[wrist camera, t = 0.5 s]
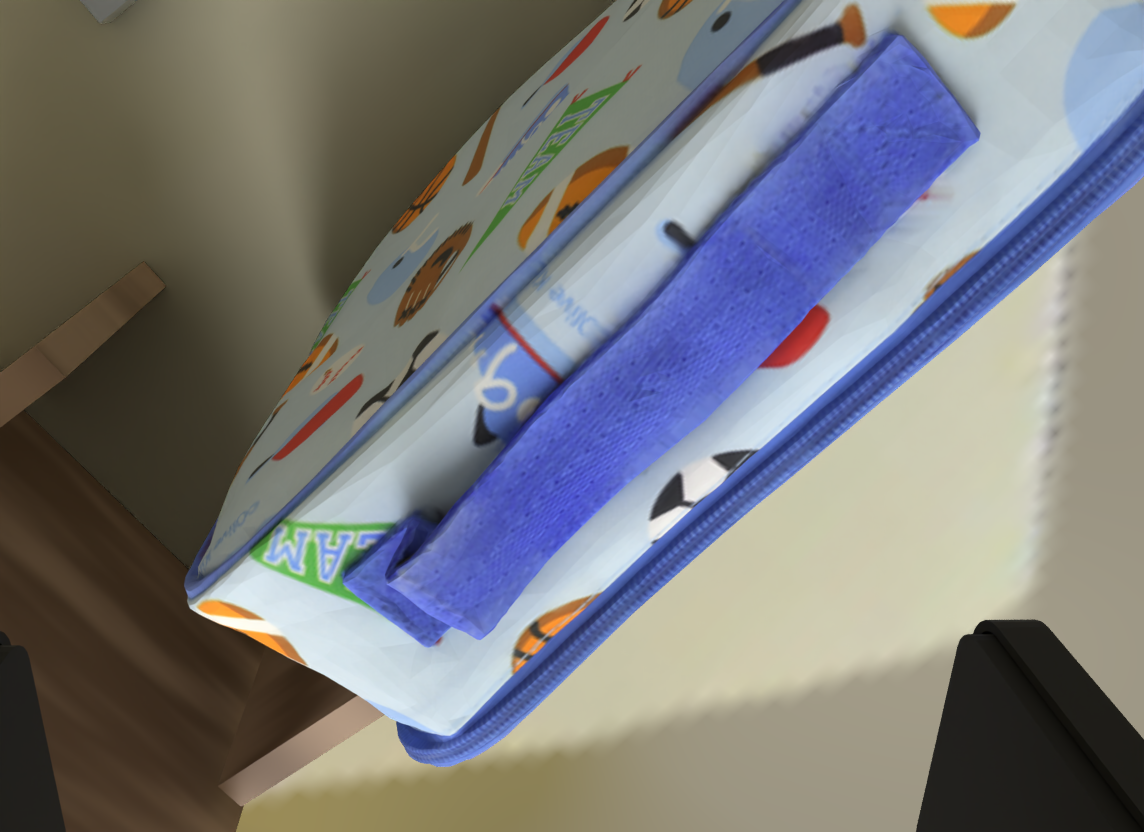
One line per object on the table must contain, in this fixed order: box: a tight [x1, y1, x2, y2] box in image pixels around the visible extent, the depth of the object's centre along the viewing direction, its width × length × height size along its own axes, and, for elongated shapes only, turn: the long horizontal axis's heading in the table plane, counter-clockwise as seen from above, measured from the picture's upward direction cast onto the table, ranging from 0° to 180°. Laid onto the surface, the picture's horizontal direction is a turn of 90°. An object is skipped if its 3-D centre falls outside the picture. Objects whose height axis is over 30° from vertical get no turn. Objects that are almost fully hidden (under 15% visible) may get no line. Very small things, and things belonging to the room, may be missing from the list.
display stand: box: [0, 261, 385, 832], centre depth 28 cm, size 10×18×31 cm, turn 35°
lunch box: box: [184, 0, 1144, 767], centre depth 29 cm, size 28×10×22 cm, turn 137°
